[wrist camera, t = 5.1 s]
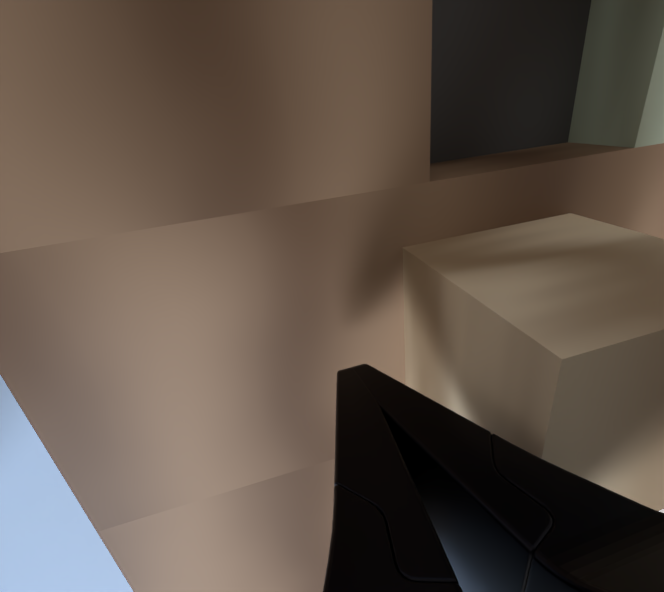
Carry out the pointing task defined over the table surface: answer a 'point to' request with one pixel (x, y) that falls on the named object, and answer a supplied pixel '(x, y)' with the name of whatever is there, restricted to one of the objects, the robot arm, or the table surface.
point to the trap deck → (274, 232)
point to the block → (548, 343)
